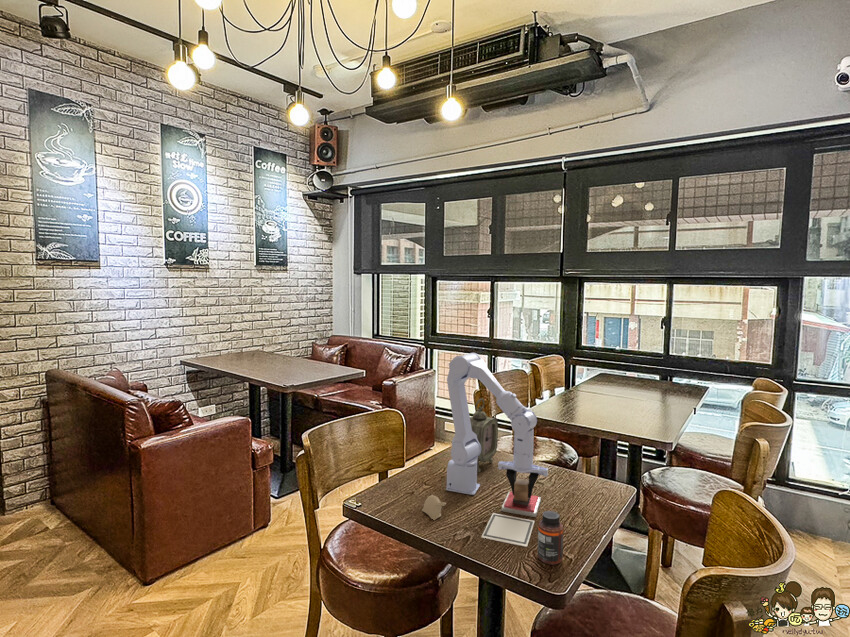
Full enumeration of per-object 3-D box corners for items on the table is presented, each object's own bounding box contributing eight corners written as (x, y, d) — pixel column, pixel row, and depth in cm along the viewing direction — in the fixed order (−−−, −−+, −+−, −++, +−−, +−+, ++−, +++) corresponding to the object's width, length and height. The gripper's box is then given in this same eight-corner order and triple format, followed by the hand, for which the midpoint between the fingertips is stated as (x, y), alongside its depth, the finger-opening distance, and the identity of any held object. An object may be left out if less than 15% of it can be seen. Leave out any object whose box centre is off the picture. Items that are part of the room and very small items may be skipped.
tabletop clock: (480, 475, 167) (482, 405, 165) (457, 469, 172) (458, 401, 170) (497, 462, 180) (498, 396, 177) (475, 457, 184) (476, 393, 182)
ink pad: (501, 511, 142) (501, 505, 142) (508, 495, 152) (508, 490, 152) (535, 517, 138) (536, 512, 138) (540, 500, 149) (540, 495, 149)
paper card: (481, 537, 127) (481, 536, 127) (492, 513, 140) (492, 512, 140) (527, 547, 123) (527, 546, 123) (534, 521, 136) (534, 520, 136)
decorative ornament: (433, 507, 144) (433, 490, 143) (447, 519, 137) (448, 501, 136) (421, 510, 142) (421, 492, 141) (435, 523, 135) (435, 504, 134)
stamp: (512, 502, 144) (513, 483, 143) (515, 496, 148) (516, 477, 147) (528, 505, 142) (528, 486, 142) (530, 499, 146) (531, 480, 146)
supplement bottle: (556, 551, 122) (558, 508, 121) (566, 565, 116) (568, 519, 115) (533, 552, 121) (535, 509, 120) (542, 566, 115) (544, 521, 114)
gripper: (496, 452, 143) (495, 496, 144) (546, 459, 138) (545, 505, 139) (501, 444, 149) (500, 487, 150) (549, 451, 144) (547, 495, 145)
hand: (521, 495), depth 145 cm, fingers closed on stamp, 4 cm apart
